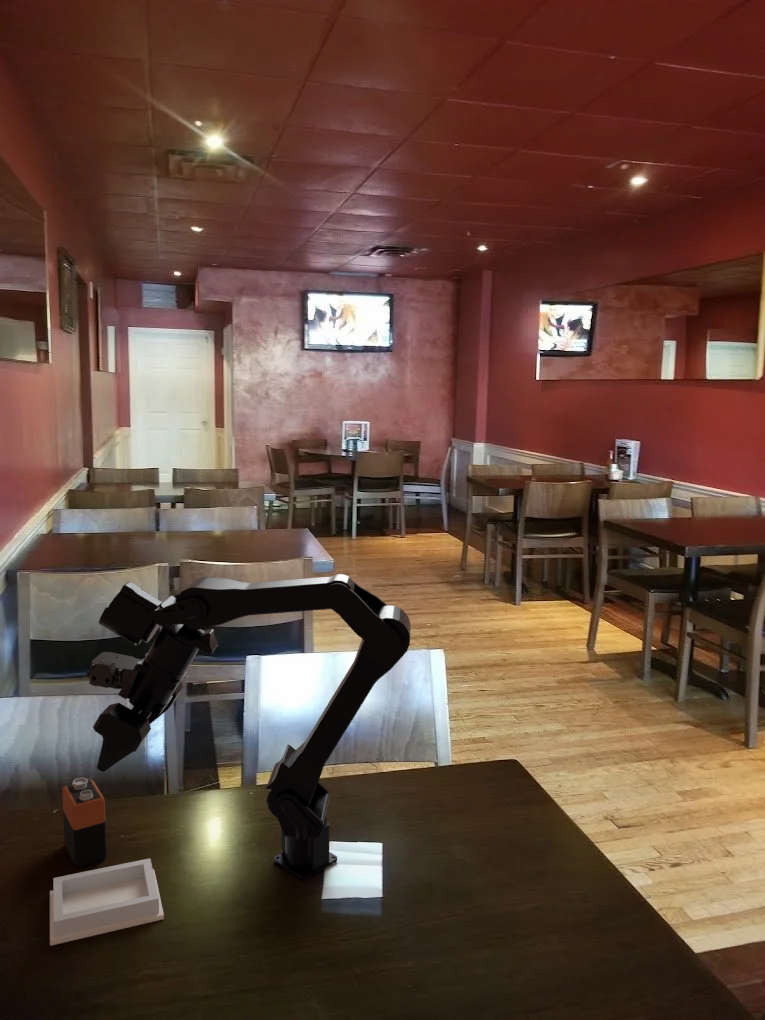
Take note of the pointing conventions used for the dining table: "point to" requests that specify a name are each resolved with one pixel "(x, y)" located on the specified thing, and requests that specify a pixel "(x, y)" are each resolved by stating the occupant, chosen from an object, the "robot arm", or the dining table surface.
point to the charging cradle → (103, 901)
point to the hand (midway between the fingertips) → (113, 753)
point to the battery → (84, 822)
